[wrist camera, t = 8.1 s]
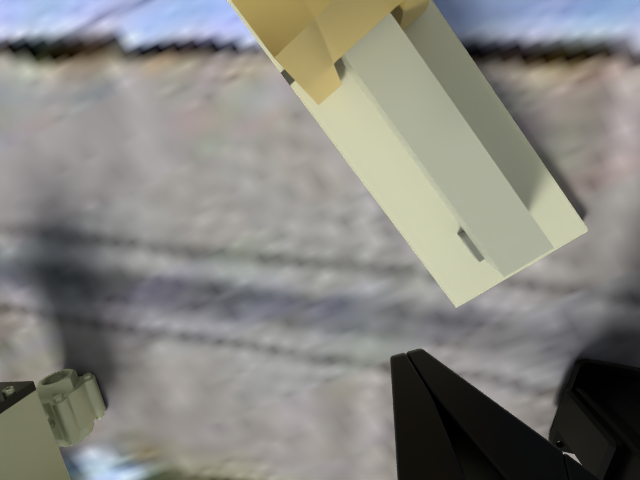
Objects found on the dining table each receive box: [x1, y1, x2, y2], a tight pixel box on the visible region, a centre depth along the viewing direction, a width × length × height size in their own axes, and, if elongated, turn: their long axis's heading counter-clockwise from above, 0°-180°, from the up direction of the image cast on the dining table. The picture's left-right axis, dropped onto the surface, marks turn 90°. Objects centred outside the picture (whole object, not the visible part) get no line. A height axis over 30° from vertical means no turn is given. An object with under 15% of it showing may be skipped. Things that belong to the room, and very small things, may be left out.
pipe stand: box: [227, 0, 589, 308], centre depth 16 cm, size 23×8×5 cm, turn 39°
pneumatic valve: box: [0, 369, 106, 480], centre depth 21 cm, size 6×12×12 cm, turn 9°
